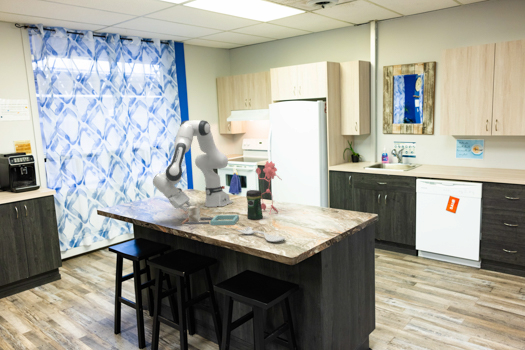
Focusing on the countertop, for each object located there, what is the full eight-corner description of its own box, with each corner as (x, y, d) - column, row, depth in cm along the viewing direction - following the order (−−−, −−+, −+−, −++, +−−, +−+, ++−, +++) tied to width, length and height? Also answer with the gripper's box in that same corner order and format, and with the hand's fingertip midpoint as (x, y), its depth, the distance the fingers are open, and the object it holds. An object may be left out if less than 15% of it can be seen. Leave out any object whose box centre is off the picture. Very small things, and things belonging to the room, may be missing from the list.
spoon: (248, 231, 238) (247, 225, 238) (288, 241, 215) (288, 235, 215) (236, 234, 232) (236, 228, 232) (276, 245, 209) (276, 239, 209)
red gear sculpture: (277, 216, 267) (275, 163, 262) (251, 210, 286) (249, 161, 282) (293, 212, 277) (292, 161, 272) (268, 207, 296) (266, 159, 292)
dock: (210, 225, 254) (210, 221, 254) (216, 218, 269) (216, 215, 268) (234, 224, 252) (233, 220, 252) (238, 218, 267) (238, 214, 266)
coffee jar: (264, 217, 266) (263, 189, 263) (257, 220, 260) (255, 191, 257) (253, 216, 272) (251, 188, 269) (245, 218, 265) (243, 190, 263)
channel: (182, 224, 258) (181, 222, 258) (188, 219, 270) (187, 217, 270) (208, 224, 256) (208, 222, 256) (213, 219, 268) (213, 217, 267)
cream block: (189, 223, 261) (187, 208, 260) (191, 221, 266) (190, 206, 265) (198, 223, 260) (197, 207, 259) (200, 221, 265) (199, 206, 264)
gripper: (170, 193, 252) (186, 209, 252) (181, 187, 272) (196, 202, 272) (164, 201, 253) (180, 216, 253) (175, 194, 273) (190, 208, 273)
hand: (189, 208), depth 262 cm, fingers open, 8 cm apart
